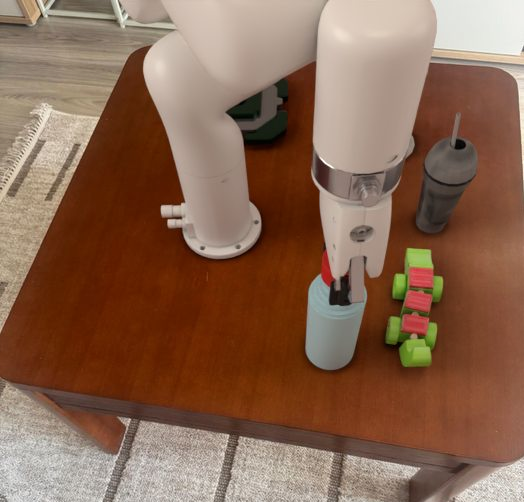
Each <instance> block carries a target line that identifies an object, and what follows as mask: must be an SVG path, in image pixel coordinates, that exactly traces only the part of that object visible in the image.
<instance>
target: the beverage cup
mask: <svg viewBox="0 0 524 502" xmlns="http://www.w3.org/2000/svg"><path fill="white" fill-rule="evenodd" d="M454 119H455V120H454V125H453V131H452V136H448V137H444V138H442V139H441V140H439V141H438V142H436V143H435V144H434V145H433V146H432V148H430V150H429V151H428V153H427V155H426V156H425V158H424V161H423V163H422V166H423V168H422V182H421V187H420V193H419V199H418V204H417V210H416V218H415V224H416V226H417V228H418V229H419V230H420V231H422V232H424V233H427V234H435V233H436V234H437V233H439V232H442V230H443V229H444V228H445V226H446V224H447V223H448V221H449V220H450V218H451V216H452V214H453V213H454V210H455V209H456V207H457V205H458V203H459V201H460V199H461V198H462V196H463V194H464V192H465V190H466V189H467V188H468V186H469V185H470V184H471V183H472V181H473V180H474V178H475V177H476V176H477V172H478V165H479V155H478V152H477V149H476V148H475V146H474V145H473V143H472V142H471V141H470V140H468V139H467V138H464V137H462V136H459V135H458V130H459V126H460V120H461V112H456V115H455V118H454Z"/></svg>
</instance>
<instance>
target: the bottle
mask: <svg viewBox="0 0 524 502" xmlns="http://www.w3.org/2000/svg"><path fill="white" fill-rule="evenodd" d="M307 292H308V295H307V296H308V297H307V311H306V313H307V314H306V333H305V346H304V347H305V354H306V357H307V359H308V360H309V361H310V363H312V364H313V365H314V366H315V367H317V368H319V369H322V370H325V371H335V370H339V369H342V368H344V367H346V366H347V365H348V364H349V363H350V362H351V361H352V358H353V356H354V354H355V350H356V345H357V342H358V337H359V333H360V328H361V325H362V320H363V316H364V312H365V308H366V304H367V300H368V292H367V289H366V286H365V285H364V302H360V303H352V304H351V305H348V306H339V305H333V306H331V305H329V293H330V287H328V286H327V285H326V284H325V283H324V282H323V280H322V277H321V273H319V274H318V275H317V276H316V277H315V278H314V279H313V280H312V281H311V284H310V285H309V288H308V291H307Z"/></svg>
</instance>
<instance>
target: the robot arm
mask: <svg viewBox="0 0 524 502" xmlns="http://www.w3.org/2000/svg"><path fill="white" fill-rule="evenodd" d="M118 2H119V4H120V6H121V7H122V9H123V10H124V11H125V13H126V14H127V16H129V17H130V18H131V19H132V20H133V21H135V22H137V23H138V24H142V25H150V24H156V23H159V22H162V21H165V20H167V19H170V20H171V21H172V23H173V25H174V26H175V28H176V29H174V30H173V31H170V32H169V33H168V34H166V35H163V37H161V38H159V39H158V40H156V42H155V43H154V44H153V45H152V46H151V47H150V48H149V50H148V51H147V53H146V54H145V57H144V59H143V66H142V73H143V77H144V81H145V85H146V88H147V90H148V92H149V95H150V98H151V99H152V101H153V104H154V106H155V107H156V110H157V112H158V115H159V117H160V119H161V122H162V124H163V126H164V130H165V132H166V135H167V138H168V142H169V145H170V149H171V152H172V156H173V161H174V163H175V168H176V171H177V176H178V179H179V184H180V188H181V192H182V195H183V199H184V202H181V203H180V205H178V204H177V205H174V204H161V206H160V214H161V218H162V219H164V218H165V219H166V218H167V228H168V229H177V228H182V234H183V239H184V240H185V243H186V245H187V246H188V247H189V248H190V249H191V250H192V251H193V252H194V253H196V254H198V255H199V256H202V257H204V258H208V259H213V260H225V259H231V258H234V257H238V256H240V255H242V254H244V253H247V251H248V250H250V249H251V248H252V247H253V246H254V245H255V244H256V242H257V241H258V239H259V238H260V235H261V232H262V218H261V214H260V211H259V209H258V208H257V206H255V204H254V203H253V202H251V201H250V193H249V185H248V174H247V166H246V157H245V156H246V153H245V145H244V140H243V137H242V133H241V131H240V128H239V127H238V125H237V123H236V122H235V121H234V120H233V119H232V118H231V117H230V116H229V115H228V114H226V113H225V112H226V111H227V110H228V109H230V108H231V107H233V106H235V105H237V104H239V103H240V102H242V101H243V100H245V99H247V98H249V97H251V96H253V95H255V94H257V93H259V92H260V91H262V90H264V89H266V88H268V87H269V86H271V85H273V84H275V83H276V82H278V81H279V80H280V79H282V78H286V77H288V76H289V75H291V74H293V73H295V72H297V71H299V70H300V69H302V68H304V67H306V66H308V65H310V64H312V63H314V62H316V63H315V65H316V66H315V88H314V89H315V90H314V107H313V108H314V110H313V127H312V128H313V129H312V148H311V169H310V172H311V178H312V181H313V183H314V185H315V186H316V188H317V189H318V190H319V214H320V220H321V227H322V232H323V239H324V242H323V246H322V257H323V253H324V251H325V250H326V249H327V254H328V259H329V264H330V269H331V273H332V276H333V277H334V281H332V282H331V285H330V293H329V305H331V306H333V305H339V306H348V305H351V304H352V303H360V302H364V286H365V271H366V273H367V275H368V277H369V279H374V278H379V277H380V276H381V274H382V272H383V269H384V264H385V259H386V254H387V248H388V242H389V238H390V231H391V221H392V207H393V205H392V204H393V198H392V197H393V194H392V193H393V192H394V191H395V190H396V189H397V187H398V186H399V184H400V181H401V179H402V174H403V170H404V166H405V162H406V159H407V158H406V155H407V151H408V147H409V143H410V139H411V135H412V134H413V131H414V126H415V122H416V120H417V119H416V118H417V116H418V115H417V114H418V111H419V106H420V103H421V98H422V95H423V91H424V86H425V84H426V83H425V82H426V78H427V76H428V73H427V71H428V72H429V67H430V62H431V58H432V55H433V52H434V47H435V42H436V37H437V33H438V32H437V31H438V19H437V13H436V9H435V7H434V5H433V2H432V1H431V0H118ZM426 75H427V76H426ZM412 136H413V135H412ZM180 217H181V219H180ZM176 218H179V219H176ZM322 257H321V258H322ZM346 273H349V277H343V278H342V276H344V275H345V274H346Z"/></svg>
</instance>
